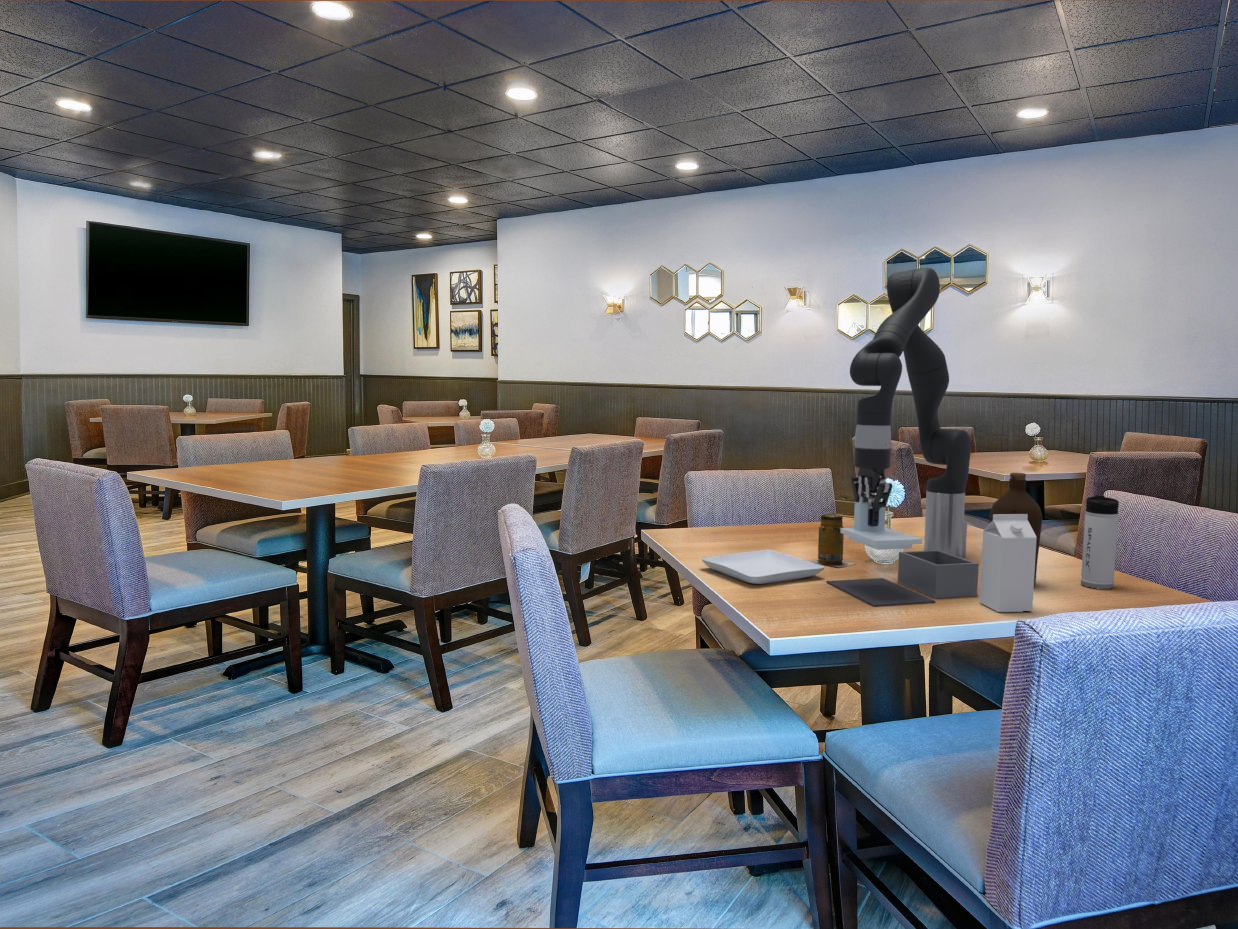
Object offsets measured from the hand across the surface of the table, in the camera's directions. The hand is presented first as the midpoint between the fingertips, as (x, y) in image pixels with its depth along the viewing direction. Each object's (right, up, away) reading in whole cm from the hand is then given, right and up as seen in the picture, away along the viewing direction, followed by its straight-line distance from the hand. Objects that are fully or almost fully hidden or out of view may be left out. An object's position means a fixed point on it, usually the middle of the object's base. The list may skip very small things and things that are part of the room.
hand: (869, 524), depth 177 cm
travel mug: (+52, -14, +4) cm, 54 cm away
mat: (+1, -14, -3) cm, 15 cm away
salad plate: (-21, -13, +13) cm, 28 cm away
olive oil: (+34, -14, +6) cm, 37 cm away
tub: (+15, -14, 0) cm, 20 cm away
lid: (+1, -4, -4) cm, 6 cm away
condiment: (-1, -12, +25) cm, 28 cm away
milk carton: (+23, -16, -14) cm, 31 cm away
